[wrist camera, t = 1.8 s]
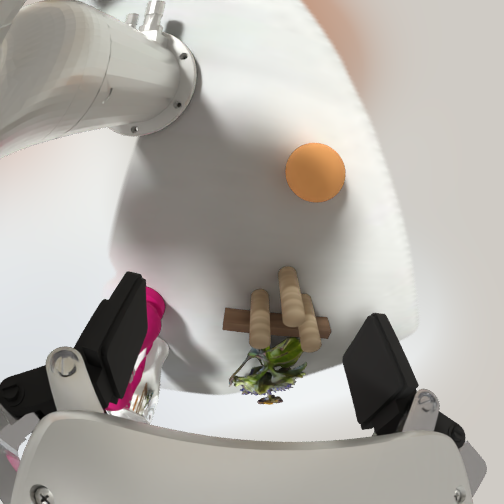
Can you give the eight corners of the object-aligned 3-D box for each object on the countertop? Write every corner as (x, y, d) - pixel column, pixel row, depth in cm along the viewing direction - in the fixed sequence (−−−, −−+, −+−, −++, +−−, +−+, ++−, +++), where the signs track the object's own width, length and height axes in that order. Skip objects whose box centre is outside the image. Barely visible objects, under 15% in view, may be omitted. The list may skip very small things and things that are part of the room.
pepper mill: (128, 274, 36) (62, 387, 18) (174, 295, 37) (129, 420, 20) (121, 307, 39) (68, 412, 21) (162, 326, 40) (124, 438, 23)
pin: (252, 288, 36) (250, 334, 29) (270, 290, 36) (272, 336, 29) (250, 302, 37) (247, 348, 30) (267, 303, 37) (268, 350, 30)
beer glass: (127, 335, 42) (96, 405, 29) (156, 327, 41) (127, 405, 27) (150, 360, 45) (128, 428, 32) (179, 354, 44) (160, 429, 30)
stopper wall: (225, 307, 38) (223, 322, 35) (327, 317, 38) (331, 331, 36) (224, 315, 39) (222, 329, 36) (324, 324, 39) (327, 338, 37)
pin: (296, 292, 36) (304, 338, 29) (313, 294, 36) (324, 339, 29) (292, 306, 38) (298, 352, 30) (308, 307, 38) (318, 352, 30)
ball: (287, 135, 27) (294, 140, 21) (340, 146, 27) (359, 154, 22) (278, 188, 30) (283, 205, 24) (330, 196, 30) (345, 215, 25)
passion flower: (268, 340, 49) (236, 395, 42) (243, 307, 42) (202, 371, 36) (323, 355, 42) (292, 419, 35) (307, 322, 35) (266, 402, 29)
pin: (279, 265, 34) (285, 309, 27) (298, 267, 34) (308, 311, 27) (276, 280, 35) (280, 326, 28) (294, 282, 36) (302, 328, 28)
